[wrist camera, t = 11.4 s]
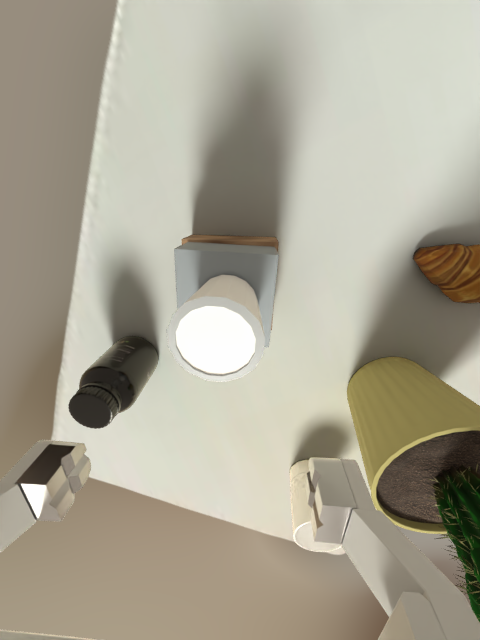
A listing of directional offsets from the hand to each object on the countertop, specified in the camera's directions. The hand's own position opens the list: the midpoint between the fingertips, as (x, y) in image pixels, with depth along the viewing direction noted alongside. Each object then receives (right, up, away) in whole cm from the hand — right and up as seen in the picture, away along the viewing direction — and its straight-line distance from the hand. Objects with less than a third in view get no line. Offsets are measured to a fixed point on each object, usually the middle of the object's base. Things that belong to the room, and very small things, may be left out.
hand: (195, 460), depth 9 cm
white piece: (0, +7, +15) cm, 16 cm away
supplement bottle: (-14, 0, +29) cm, 32 cm away
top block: (0, +9, +19) cm, 21 cm away
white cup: (+14, -22, +37) cm, 46 cm away
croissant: (+28, +11, +22) cm, 38 cm away
